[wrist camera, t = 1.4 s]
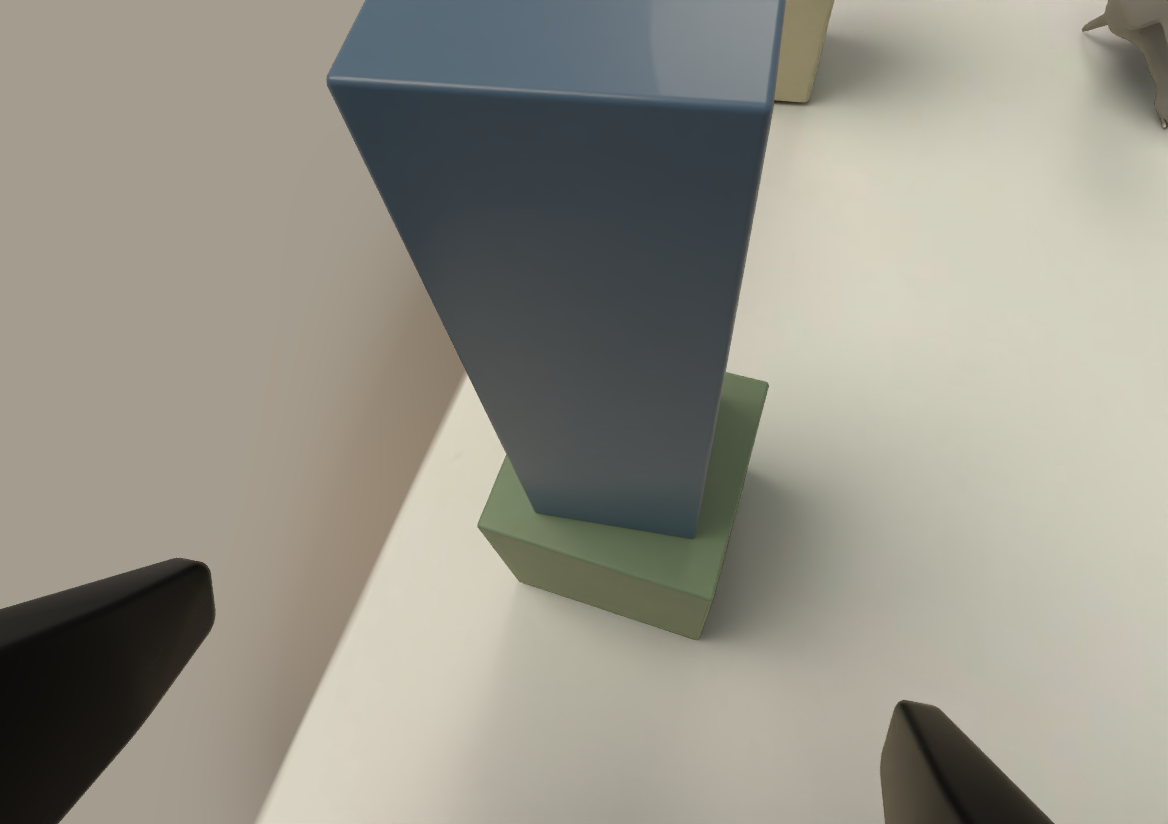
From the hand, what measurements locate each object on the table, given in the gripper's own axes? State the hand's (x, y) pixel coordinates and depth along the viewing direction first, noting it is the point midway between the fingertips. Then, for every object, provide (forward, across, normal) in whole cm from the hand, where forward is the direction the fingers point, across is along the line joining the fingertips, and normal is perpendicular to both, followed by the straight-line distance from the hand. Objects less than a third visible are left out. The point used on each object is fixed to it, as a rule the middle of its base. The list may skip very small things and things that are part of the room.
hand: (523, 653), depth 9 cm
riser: (+14, 0, +5) cm, 15 cm away
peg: (+9, 0, +1) cm, 9 cm away
